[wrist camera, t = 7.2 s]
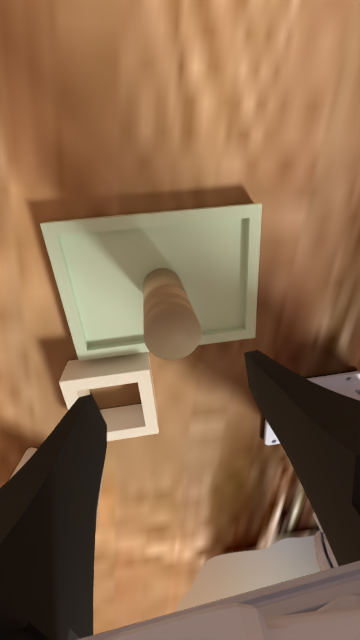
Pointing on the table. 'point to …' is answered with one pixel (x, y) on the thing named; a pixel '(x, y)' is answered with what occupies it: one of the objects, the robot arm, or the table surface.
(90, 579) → the robot arm
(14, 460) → the table surface
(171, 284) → the dowel
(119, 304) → the tray
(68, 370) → the square block with hole
